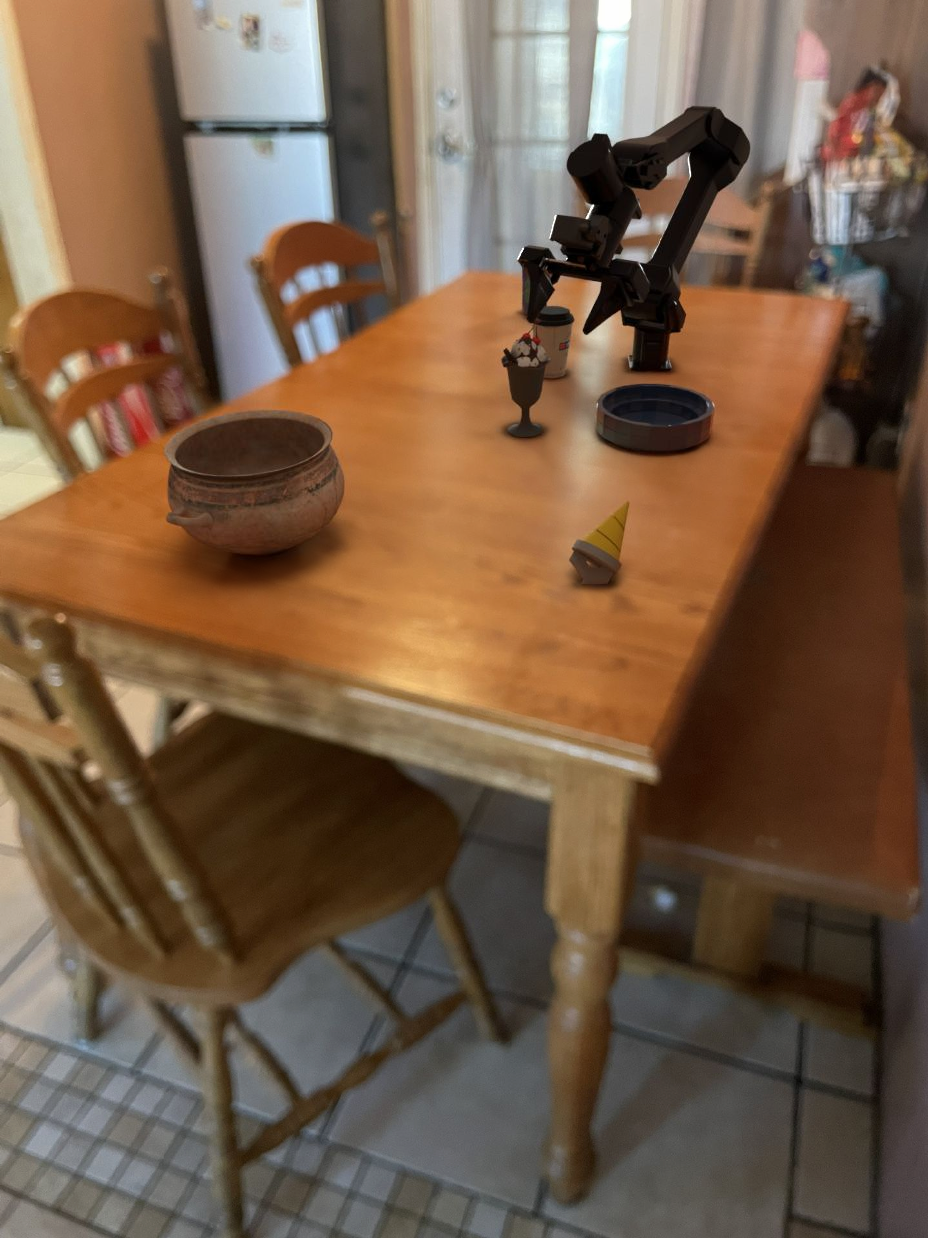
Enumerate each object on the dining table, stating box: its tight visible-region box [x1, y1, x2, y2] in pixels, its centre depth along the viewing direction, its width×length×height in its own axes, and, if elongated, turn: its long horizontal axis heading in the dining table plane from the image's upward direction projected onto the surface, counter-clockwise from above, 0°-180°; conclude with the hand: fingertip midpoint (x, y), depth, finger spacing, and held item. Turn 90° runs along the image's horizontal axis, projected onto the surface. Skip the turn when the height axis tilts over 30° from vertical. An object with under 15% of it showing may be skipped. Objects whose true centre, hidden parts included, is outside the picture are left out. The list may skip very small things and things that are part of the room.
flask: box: [521, 267, 548, 317], centre depth 170 cm, size 9×3×11 cm, turn 17°
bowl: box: [594, 383, 716, 454], centre depth 125 cm, size 16×16×4 cm
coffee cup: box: [531, 305, 576, 379], centre depth 144 cm, size 7×7×10 cm
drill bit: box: [568, 500, 630, 585], centre depth 94 cm, size 5×5×10 cm
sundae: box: [501, 320, 551, 438], centre depth 124 cm, size 7×7×15 cm
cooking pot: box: [164, 409, 345, 557], centre depth 100 cm, size 25×19×12 cm
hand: (556, 327), depth 125 cm, fingers open, 9 cm apart
